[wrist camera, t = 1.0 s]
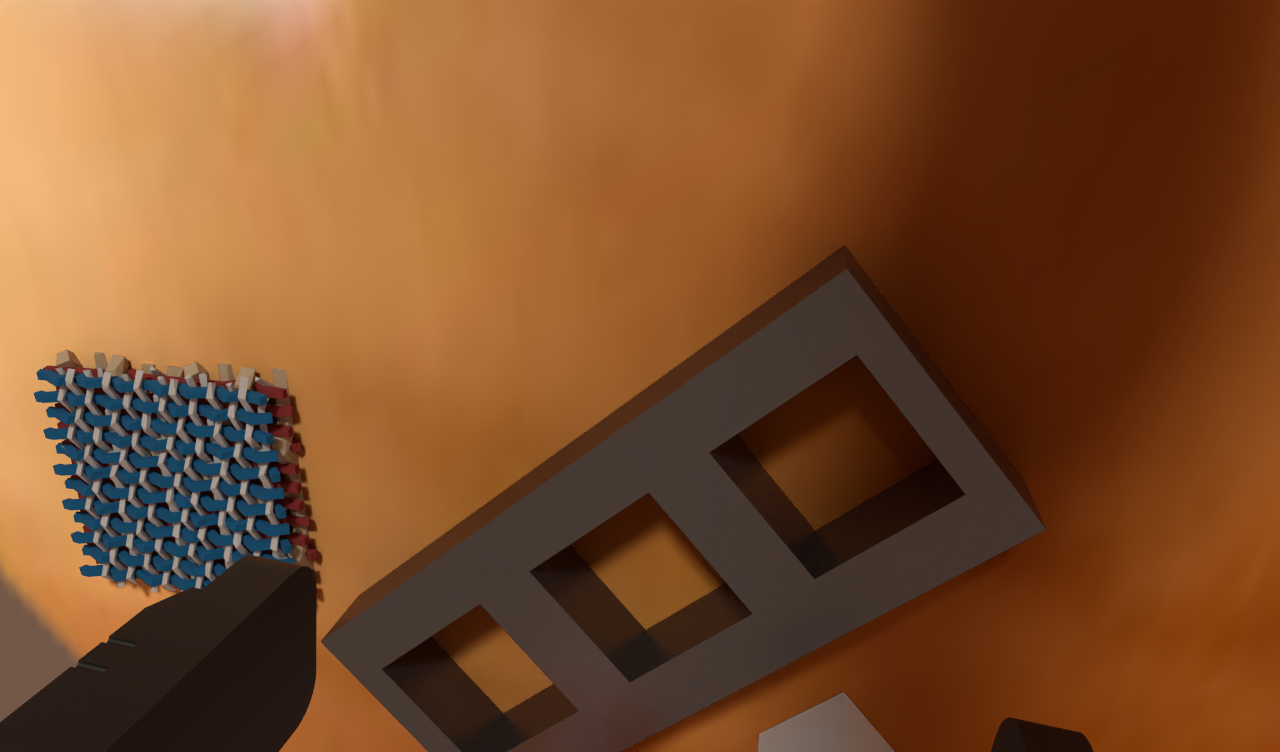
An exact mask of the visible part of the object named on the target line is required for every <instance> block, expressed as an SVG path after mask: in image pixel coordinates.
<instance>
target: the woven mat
mask: <svg viewBox="0 0 1280 752" xmlns="http://www.w3.org/2000/svg"><path fill="white" fill-rule="evenodd" d="M94 355H95V362H96V369H90V368H83V366H82V364H81V363H80V361H79V360H78V358H77V357H76V356H75V354H74V353H73V352H71V351H69V350H65V351H63V352H60V353H58V354H57V360H56V366H47V367H45V368H43V369H40V370H39V371H38V372H37V376H38V380H46V381H48V382H49V383H51V384H53V385H54V386H56V390H57V391H51V392H45V391H38V392H35V393H34V396H35V399H36V401H37V402H42V403H49V402H58V403H56V404H55V407H49V408H48V409H47V410H46V411H47V415H48V417H55V418H57V419H58V420H60V422H59V423H58V424H57V425H58V428H59V429H54V428H51V427H50V428H47V429H45V430H44V434H45V437H46V438H48V439H52V440H55V439H66V440H64V441H62V443H58V444H57V445H56V450H57V453H58V454H65V455H66V456H68V457H69V458H71V461H72V464H68V465H64V464H57V465H54V466H53V468H54V471H55V474H57V475H61V476H63V475H72V476H71V478H68V479H67V480H66V481H65V485H66V488H69V489H74V490H76V491H77V492H78V496H79V499H70V498H69V499H66V500H63V501H62V503H63V506H64V509H68V510H80V512H76V513H75V514H74V520H75V522H80V523H83V524H84V526H83V529H84V533H81V532H78V531H77V532H75V533H72V534H71V537H72V540H73V542H76V543H79V544H80V543H87V545H84V547H83V548H82V551H83V555H90V556H91V557H93V558H94V559H95V560H96V563H97V564H99V563H100V564H103V565H96V566H89V565H84V566H82V567H79V568H80V571H81V574H82V575H84V576H87V577H92V576H101V577H104V578H106V579H109V580H111V581H114V582H116V583H117V581H119V583H118V587H124V585H125V582H126V580H129V581H131V582H132V583H134V584H136V585H138V586H139V584H138V582H137V581H136V578H140V579H141V580H142V581H144V582H145V583H146V584H147V585H149V586H150V587H152V589H151V592H157V591H158V587H159V585H162V586H163V587H165V588H166V589H168V590H169V591H170V592H171V591H176V589H175V588H174V587H173V586H172V585H174V586H176V587H177V588H179V589H181V592H182V591H184V590H187V589H189V588H191V587H194V588H199V589H204V588H205V587H206V586H207V585H209V584H210V583H211V582H212V581H213V580H215V579H216V578H217V577H218V576H219V575H221V574H222V573H223V572H224V571H225V570H227V569H228V568H229V567H230V566H231V565H233V564H234V563H235V562H236V561H237V560H239V559H240V558H242V557H244V556H246V555H254V556H259V557H263V558H268V559H273V560H277V561H282V562H287V563H292V564H296V565H301V566H306V567H309V568H311V569H312V571H313V572H314V575H315V570H314V565H313V560H315V559H317V558H318V556H317V551H316V550H315V549H314V548H313V547H312V546H311V545H308V543H309V540H310V537H309V532H308V527H309V523H310V517H306V511H305V504H304V497H303V490H302V483H301V476H300V469H299V462H298V455H297V454H296V453H297V452H300V451H302V448H301V443H300V442H299V441H298V440H296V439H293V435H294V432H295V431H294V428H293V421H292V417H293V407H292V405H290V398H289V390H288V382H287V377H286V373H285V369H276V368H272V369H273V382H274V385H272V384H270V383H268V382H266V381H264V380H263V379H261V378H258V377H255V375H256V372H255V369H251V368H247V367H242V366H241V369H240V372H239V374H238V377H237V379H236V380H234V375H233V371H232V367H231V364H225V363H218V366H219V378H220V381H213V380H210V377H209V373H208V372H207V371H206V370H205V369H204V368H203V367H202V366H201V365H200V364H199V363H197V362H196V361H195V362H193V363H191V364H189V365H187V366H185V367H184V370H185V374H186V376H185V377H184V375H183V368H182V367H178V366H167V376H166V375H165V374H163V373H162V372H161V371H159V370H158V369H156V367H155V364H146V363H143V364H142V371H139V370H135V369H131V368H128V367H129V361H128V360H127V359H126V358H125V357H123V356H118V355H112V357H111V359H110V362H109V364H107V360H106V357H105V354H104V353H100V352H95V354H94ZM144 390H146V391H147V393H146V392H145V391H144ZM217 397H218V398H219V399H220V400H219V399H218V398H217ZM269 398H275V405H267V404H268V401H269ZM238 401H240V402H238ZM95 404H99V405H101V406H96V405H95ZM199 414H200V416H198V415H199ZM272 416H275V417H276V420H277V422H276V424H268V423H273V419H272ZM204 452H206V453H204ZM276 461H277V462H276ZM280 474H285V478H286V480H280ZM287 509H290V511H291V515H286V510H287ZM94 518H95V519H94ZM289 526H293V532H290V529H289ZM219 534H221V535H219ZM102 551H104V552H102ZM196 563H197V564H198V565H199V566H197V564H196ZM170 583H171V584H172V585H171V584H170ZM316 593H317V590H316Z"/></svg>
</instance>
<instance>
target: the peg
mask: <svg viewBox="0 0 1280 752" xmlns="http://www.w3.org/2000/svg"><path fill="white" fill-rule="evenodd" d="M758 752H895V751H894V750H893V749H892V748H891V747H890V746H889V744H888V743H887V742H886V741H885V740H884V739H883V737H882V736H881V735H880V734H879V733H878V732H877V730H876V729H875V728H874V727H873V726H872V724H871V723H870V722H869V721H868V720H867V719H866V717H865V716H864V715H863V714H862V713H861V712H860V710H859V709H858V708H857V707H856V706H855V705H854V703H853V702H852V701H851V700H850V699H849V697H848V696H847V695H846V694H845V693H844V692H843V693H840V694H838V695H836V696H834V697H832V698H830V699H828V700H826V701H824V702H822V703H820V704H818V705H816V706H814V707H812V708H810V709H808V710H806V711H804V712H802V713H800V714H798V715H796V716H794V717H792V718H790V719H788V720H786V721H784V722H782V723H780V724H778V725H776V726H774V727H772V728H770V729H768V730H766V731H764V732H762V733H760V734H759V744H758Z"/></svg>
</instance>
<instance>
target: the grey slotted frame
mask: <svg viewBox="0 0 1280 752" xmlns="http://www.w3.org/2000/svg"><path fill="white" fill-rule="evenodd" d="M856 355H857V356H858V357H859V358H860V359H861V361H862V362H863V363H864V365H865V366H866V367H867V368H868V370H869V371H870V372H871V374H872V375H873V376H874V377H875V379H876V380H877V381H878V383H879V384H880V385H881V386H882V388H883V389H884V390H885V392H886V393H887V394H888V395H889V397H890V398H891V399H892V400H893V402H894V403H895V404H896V406H897V407H898V408H899V409H900V411H901V412H902V413H903V415H904V416H905V417H906V418H907V420H908V421H909V422H910V424H911V425H912V426H913V427H914V429H915V430H916V431H917V433H918V434H919V435H920V436H921V438H922V439H923V440H924V442H925V443H926V444H927V445H928V447H929V448H930V449H931V451H932V452H933V453H934V454H935V456H936V457H937V458H938V460H936V461H935V462H933V463H931V464H929V465H928V466H926V467H924V468H923V469H921V470H919V471H917V472H916V473H914V474H912V475H911V476H909V477H907V478H906V479H904V480H902V481H900V482H899V483H897V484H895V485H894V486H892V487H890V488H888V489H887V490H885V491H883V492H882V493H880V494H878V495H876V496H875V497H873V498H871V499H870V500H868V501H866V502H864V503H863V504H861V505H859V506H858V507H856V508H854V509H852V510H851V511H849V512H847V513H846V514H844V515H842V516H840V517H839V518H837V519H835V520H834V521H832V522H830V523H829V524H827V525H825V526H823V527H822V528H820V529H818V530H817V531H815V530H814V529H813V528H812V526H811V525H810V524H809V523H808V522H807V520H806V519H805V518H804V517H803V515H802V514H801V513H800V512H799V511H798V509H797V508H796V507H795V506H794V505H793V503H792V502H791V501H790V500H789V498H788V497H787V496H786V495H785V494H784V492H783V491H782V490H781V489H780V488H779V486H778V485H777V484H776V483H775V481H774V480H773V479H772V478H771V477H770V475H769V474H768V473H767V472H766V471H765V469H764V468H763V467H762V466H761V464H760V463H759V462H758V461H757V460H756V458H755V457H754V456H753V455H752V454H751V452H750V451H749V450H748V449H747V448H746V446H745V445H744V444H743V443H742V441H741V440H740V439H739V438H738V437H737V435H736V434H738V433H739V432H741V431H742V430H744V429H746V428H747V427H749V426H750V425H752V424H753V423H755V422H756V421H758V420H759V419H761V418H762V417H764V416H765V415H767V414H768V413H770V412H771V411H773V410H774V409H776V408H777V407H779V406H780V405H782V404H783V403H785V402H786V401H788V400H789V399H791V398H792V397H794V396H795V395H797V394H798V393H800V392H801V391H803V390H805V389H806V388H808V387H809V386H811V385H812V384H814V383H815V382H817V381H818V380H820V379H821V378H823V377H824V376H826V375H827V374H829V373H830V372H832V371H833V370H835V369H836V368H838V367H839V366H841V365H842V364H844V363H845V362H847V361H848V360H850V359H851V358H853V357H854V356H856ZM647 493H650V495H651V496H652V497H653V498H654V499H655V500H656V502H657V503H658V504H659V505H660V506H661V507H662V509H663V510H664V511H665V512H666V513H667V514H668V516H669V517H670V518H671V519H672V520H673V521H674V523H675V524H676V525H677V526H678V527H679V528H680V530H681V531H682V532H683V533H684V534H685V535H686V537H687V538H688V539H689V540H690V541H691V542H692V544H693V545H694V546H695V547H696V548H697V549H698V551H699V552H700V553H701V554H702V555H703V556H704V558H705V559H706V560H707V561H708V562H709V563H710V565H711V566H712V567H713V568H714V569H715V570H716V572H717V573H718V574H719V575H720V576H721V577H722V579H723V580H724V581H725V582H726V584H724V585H722V586H721V587H719V588H717V589H716V590H714V591H712V592H710V593H709V594H707V595H705V596H704V597H702V598H700V599H698V600H697V601H695V602H693V603H692V604H690V605H688V606H686V607H685V608H683V609H681V610H680V611H678V612H676V613H674V614H673V615H671V616H669V617H668V618H666V619H664V620H663V621H661V622H659V623H657V624H656V625H654V626H652V627H651V628H649V629H647V630H645V629H644V628H643V627H642V626H641V625H640V623H639V622H638V621H637V620H636V619H635V618H634V617H633V616H632V614H631V613H630V612H629V611H628V610H627V609H626V608H625V607H624V605H623V604H622V603H621V602H620V601H619V600H618V599H617V598H616V597H615V595H614V594H613V593H612V592H611V591H610V590H609V589H608V588H607V586H606V585H605V584H604V583H603V582H602V581H601V580H600V579H599V577H598V576H597V575H596V574H595V573H594V572H593V571H592V570H591V568H590V567H589V566H588V565H587V564H586V563H585V562H584V561H583V559H582V558H581V557H580V556H579V555H578V554H577V553H576V552H575V550H574V549H573V548H572V547H571V546H570V544H572V543H573V542H575V541H576V540H578V539H579V538H581V537H582V536H584V535H585V534H587V533H588V532H590V531H591V530H593V529H594V528H596V527H597V526H599V525H600V524H602V523H603V522H605V521H606V520H608V519H609V518H611V517H612V516H614V515H615V514H617V513H618V512H620V511H621V510H623V509H625V508H626V507H628V506H629V505H631V504H632V503H634V502H635V501H637V500H638V499H640V498H641V497H643V496H644V495H646V494H647ZM1044 530H1046V528H1045V525H1044V523H1043V521H1042V519H1041V517H1040V514H1039V512H1038V510H1037V508H1036V505H1035V503H1034V501H1033V499H1032V496H1031V494H1030V492H1029V490H1028V488H1027V485H1026V483H1025V481H1024V480H1023V479H1022V478H1021V476H1020V475H1019V474H1018V472H1017V471H1016V470H1015V468H1014V467H1013V466H1012V464H1011V463H1010V462H1009V460H1008V459H1007V458H1006V457H1005V455H1004V454H1003V453H1002V451H1001V450H1000V449H999V447H998V446H997V445H996V443H995V442H994V441H993V439H992V438H991V437H990V436H989V434H988V433H987V432H986V430H985V429H984V428H983V426H982V425H981V424H980V422H979V421H978V420H977V418H976V417H975V416H974V415H973V413H972V412H971V411H970V409H969V408H968V407H967V405H966V404H965V403H964V401H963V400H962V399H961V397H960V396H959V395H958V394H957V392H956V391H955V390H954V388H953V387H952V386H951V384H950V383H949V382H948V380H947V379H946V378H945V376H944V375H943V374H942V373H941V371H940V370H939V369H938V367H937V366H936V365H935V363H934V362H933V361H932V359H931V358H930V357H929V355H928V354H927V353H926V352H925V350H924V349H923V348H922V346H921V345H920V344H919V342H918V341H917V340H916V338H915V337H914V336H913V334H912V333H911V332H910V330H909V329H908V328H907V327H906V325H905V324H904V323H903V321H902V320H901V319H900V317H899V316H898V315H897V313H896V312H895V311H894V309H893V308H892V307H891V306H890V304H889V303H888V302H887V300H886V299H885V298H884V296H883V295H882V294H881V292H880V291H879V290H878V288H877V287H876V286H875V285H874V283H873V282H872V281H871V279H870V278H869V277H868V275H867V274H866V273H865V271H864V270H863V269H862V267H861V266H860V265H859V264H858V262H857V261H856V260H855V258H854V257H853V256H852V254H851V253H850V252H849V250H848V249H847V248H846V246H845V245H844V246H843V247H842V248H840V249H839V250H837V251H836V252H835V253H833V254H832V255H831V256H829V257H828V258H826V259H825V260H824V261H822V262H821V263H819V264H818V265H817V266H815V267H814V268H813V269H811V270H810V271H808V272H807V273H806V274H804V275H803V276H801V277H800V278H799V279H797V280H796V281H794V282H793V283H792V284H790V285H789V286H788V287H786V288H785V289H783V290H782V291H781V292H779V293H778V294H776V295H775V296H774V297H772V298H771V299H770V300H768V301H767V302H765V303H764V304H763V305H761V306H760V307H758V308H757V309H756V310H754V311H753V312H751V313H750V314H749V315H747V316H746V317H745V318H743V319H742V320H740V321H739V322H738V323H736V324H735V325H733V326H732V327H731V328H729V329H728V330H727V331H725V332H724V333H722V334H721V335H720V336H718V337H717V338H715V339H714V340H713V341H711V342H710V343H708V344H707V345H706V346H704V347H703V348H702V349H700V350H699V351H697V352H696V353H695V354H693V355H692V356H690V357H689V358H688V359H686V360H685V361H684V362H682V363H681V364H679V365H678V366H677V367H675V368H674V369H672V370H671V371H670V372H668V373H667V374H665V375H664V376H663V377H661V378H660V379H659V380H657V381H656V382H654V383H653V384H652V385H650V386H649V387H647V388H646V389H645V390H643V391H642V392H640V393H639V394H638V395H636V396H635V397H634V398H632V399H631V400H629V401H628V402H627V403H625V404H624V405H622V406H621V407H620V408H618V409H617V410H616V411H614V412H613V413H611V414H610V415H609V416H607V417H606V418H604V419H603V420H602V421H600V422H599V423H597V424H596V425H595V426H593V427H592V428H591V429H589V430H588V431H586V432H585V433H584V434H582V435H581V436H579V437H578V438H577V439H575V440H574V441H573V442H571V443H570V444H568V445H567V446H566V447H564V448H563V449H561V450H560V451H559V452H557V453H556V454H554V455H553V456H552V457H550V458H549V459H548V460H546V461H545V462H543V463H542V464H541V465H539V466H538V467H536V468H535V469H534V470H532V471H531V472H530V473H528V474H527V475H525V476H524V477H523V478H521V479H520V480H518V481H517V482H516V483H514V484H513V485H511V486H510V487H509V488H507V489H506V490H505V491H503V492H502V493H500V494H499V495H498V496H496V497H495V498H493V499H492V500H491V501H489V502H488V503H487V504H485V505H484V506H482V507H481V508H480V509H478V510H477V511H475V512H474V513H473V514H471V515H470V516H468V517H467V518H466V519H464V520H463V521H462V522H460V523H459V524H457V525H456V526H455V527H453V528H452V529H450V530H449V531H448V532H446V533H445V534H444V535H442V536H441V537H439V538H438V539H437V540H435V541H434V542H432V543H431V544H430V545H428V546H427V547H425V548H424V549H423V550H421V551H420V552H419V553H417V554H416V555H414V556H413V557H412V558H410V559H409V560H407V561H406V562H405V563H403V564H402V565H401V566H399V567H398V568H396V569H395V570H394V571H392V572H391V573H389V574H388V575H387V576H385V577H384V578H382V579H381V580H380V581H378V582H377V583H376V584H374V585H373V586H371V587H370V588H369V589H367V590H366V591H364V592H363V593H362V594H360V595H359V596H358V597H357V598H356V600H355V601H354V602H353V603H352V604H351V606H350V607H349V608H348V609H347V610H346V612H345V613H344V614H343V615H342V616H341V618H340V619H339V620H338V621H337V622H336V624H335V625H334V626H333V627H332V628H331V630H330V631H329V632H328V633H327V634H326V636H325V637H324V638H323V639H322V640H321V642H322V643H323V644H324V646H325V647H326V648H327V649H328V650H329V651H330V652H331V653H332V654H333V655H334V656H335V657H336V658H337V659H338V660H339V661H340V662H341V663H342V664H343V665H344V666H345V667H346V668H347V669H348V670H349V671H350V672H351V673H352V674H353V675H354V676H355V677H356V678H357V679H358V680H359V681H360V682H361V683H362V684H363V685H364V686H365V687H366V689H367V690H368V691H369V692H370V693H371V694H372V695H373V696H374V697H375V698H376V699H377V700H378V701H379V702H380V703H381V704H382V705H383V706H384V707H385V708H386V709H387V710H388V711H389V712H390V713H391V714H392V715H393V716H394V717H395V718H396V719H397V720H398V721H399V722H400V723H401V724H402V725H403V726H404V727H405V728H406V729H407V731H408V732H409V733H410V734H411V735H412V736H413V737H414V738H415V739H416V740H417V741H418V742H419V743H420V744H421V745H422V746H423V747H424V748H425V749H426V750H427V751H428V752H621V751H623V750H625V749H627V748H629V747H631V746H633V745H635V744H637V743H638V742H640V741H642V740H644V739H646V738H648V737H650V736H652V735H654V734H656V733H658V732H660V731H661V730H663V729H665V728H667V727H669V726H671V725H673V724H675V723H677V722H679V721H681V720H682V719H684V718H686V717H688V716H690V715H692V714H694V713H696V712H698V711H700V710H702V709H703V708H705V707H707V706H709V705H711V704H713V703H715V702H717V701H719V700H721V699H723V698H724V697H726V696H728V695H730V694H732V693H734V692H736V691H738V690H740V689H742V688H744V687H746V686H747V685H749V684H751V683H753V682H755V681H757V680H759V679H761V678H763V677H765V676H767V675H768V674H770V673H772V672H774V671H776V670H778V669H780V668H782V667H784V666H786V665H788V664H789V663H791V662H793V661H795V660H797V659H799V658H801V657H803V656H805V655H807V654H809V653H811V652H812V651H814V650H816V649H818V648H820V647H822V646H824V645H826V644H828V643H830V642H832V641H833V640H835V639H837V638H839V637H841V636H843V635H845V634H847V633H849V632H851V631H853V630H854V629H856V628H858V627H860V626H862V625H864V624H866V623H868V622H870V621H872V620H874V619H876V618H877V617H879V616H881V615H883V614H885V613H887V612H889V611H891V610H893V609H895V608H897V607H898V606H900V605H902V604H904V603H906V602H908V601H910V600H912V599H914V598H916V597H918V596H919V595H921V594H923V593H925V592H927V591H929V590H931V589H933V588H935V587H937V586H939V585H941V584H942V583H944V582H946V581H948V580H950V579H952V578H954V577H956V576H958V575H960V574H962V573H963V572H965V571H967V570H969V569H971V568H973V567H975V566H977V565H979V564H981V563H983V562H984V561H986V560H988V559H990V558H992V557H994V556H996V555H998V554H1000V553H1002V552H1004V551H1005V550H1007V549H1009V548H1011V547H1013V546H1015V545H1017V544H1019V543H1021V542H1023V541H1025V540H1027V539H1028V538H1030V537H1032V536H1034V535H1036V534H1038V533H1040V532H1042V531H1044ZM479 604H481V606H482V607H483V608H484V609H485V610H486V611H487V612H488V613H489V614H490V615H491V616H492V617H493V618H494V620H495V621H496V622H497V623H498V624H499V625H500V626H501V627H502V628H503V629H504V630H505V631H506V633H507V634H508V635H509V636H510V637H511V638H512V639H513V640H514V641H515V642H516V643H517V644H518V645H519V647H520V648H521V649H522V650H523V651H524V652H525V653H526V654H527V655H528V656H529V657H530V658H531V660H532V661H533V662H534V663H535V664H536V665H537V666H538V667H539V668H540V669H541V670H542V671H543V672H544V674H545V675H546V676H547V677H548V678H549V679H550V680H551V681H552V682H553V683H554V684H553V685H551V686H550V687H548V688H546V689H544V690H543V691H541V692H539V693H538V694H536V695H534V696H532V697H531V698H529V699H527V700H526V701H524V702H522V703H520V704H519V705H517V706H515V707H514V708H512V709H510V710H509V711H507V712H505V713H502V712H501V711H500V710H499V709H498V708H497V707H496V706H495V704H494V703H493V702H492V701H491V700H490V699H489V698H488V697H487V696H486V695H485V694H484V693H483V692H482V691H481V690H480V689H479V688H478V687H477V685H476V684H475V683H474V682H473V681H472V680H471V679H470V678H469V677H468V676H467V675H466V674H465V673H464V672H463V671H462V670H461V669H460V668H459V666H458V665H457V664H456V663H455V662H454V661H453V660H452V659H451V658H450V657H449V656H448V655H447V654H446V653H445V652H444V651H443V650H442V649H441V647H440V646H439V645H438V644H437V643H436V642H435V641H434V640H433V639H432V638H431V636H432V635H434V634H435V633H437V632H438V631H440V630H441V629H443V628H445V627H446V626H448V625H449V624H451V623H452V622H454V621H455V620H457V619H458V618H460V617H461V616H463V615H464V614H466V613H467V612H469V611H470V610H472V609H473V608H475V607H476V606H478V605H479Z"/></svg>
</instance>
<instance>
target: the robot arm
mask: <svg viewBox="0 0 1280 752" xmlns="http://www.w3.org/2000/svg"><path fill="white" fill-rule="evenodd" d="M315 679H316V578H315V575H314V572H313V571H312V569H311V568H309V567H306V566H301V565H296V564H292V563H287V562H282V561H277V560H273V559H268V558H263V557H259V556H254V555H246V556H244V557H242V558H240V559H239V560H237V561H236V562H235V563H234V564H233V565H231V566H230V567H229V568H228V569H227V570H225V571H224V572H223V573H222V574H221V575H219V576H218V577H217V578H216V579H215V580H213V581H212V582H211V583H210V584H209V585H207V586H206V587H205V588H204V589H199V588H194V587H191V588H189V589H187V590H184V591H182V592H180V593H178V594H175V595H173V596H171V597H169V598H166V599H164V600H162V601H160V602H157V603H155V604H153V605H151V606H148V607H146V608H144V609H143V610H142V611H141V612H139V613H138V614H137V615H136V616H134V617H133V618H132V619H130V620H129V621H128V622H127V623H125V624H124V625H123V626H122V627H120V628H119V629H118V630H117V631H115V632H114V633H113V634H111V635H110V636H109V640H108V642H107V643H104V642H101V643H100V644H99V645H98V646H96V647H95V648H94V649H92V650H91V651H90V652H89V653H87V654H86V655H85V656H84V657H82V658H81V659H80V660H79V662H78V665H77V667H75V668H74V667H70V668H68V669H67V670H66V671H65V672H63V673H62V674H61V675H60V676H58V677H57V678H56V679H55V680H53V681H52V682H51V683H50V684H48V685H47V686H46V687H45V688H43V689H42V690H41V691H39V692H38V693H37V694H35V695H34V696H33V697H32V698H31V699H29V700H28V701H27V702H25V703H24V704H23V705H22V706H20V707H19V708H18V709H17V710H15V711H14V712H13V713H11V714H10V715H9V716H8V717H6V718H5V719H4V720H3V721H1V722H0V752H279V750H280V749H281V748H282V747H283V745H284V744H285V743H286V742H287V740H288V739H289V738H290V737H291V735H292V734H293V733H294V731H295V730H296V729H297V727H298V726H299V724H300V722H301V721H302V719H303V717H304V715H305V713H306V711H307V708H308V706H309V703H310V700H311V697H312V694H313V690H314V685H315ZM991 752H1093V750H1092V747H1091V745H1090V743H1089V741H1088V740H1087V738H1086V737H1085V736H1084V735H1083V734H1082V733H1080V732H1076V731H1071V730H1066V729H1061V728H1057V727H1052V726H1047V725H1043V724H1038V723H1033V722H1028V721H1024V720H1019V719H1014V718H1010V717H1009V718H1006V719H1005V720H1004V721H1003V722H1002V723H1001V725H1000V727H999V729H998V732H997V734H996V737H995V740H994V744H993V747H992V750H991Z"/></svg>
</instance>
